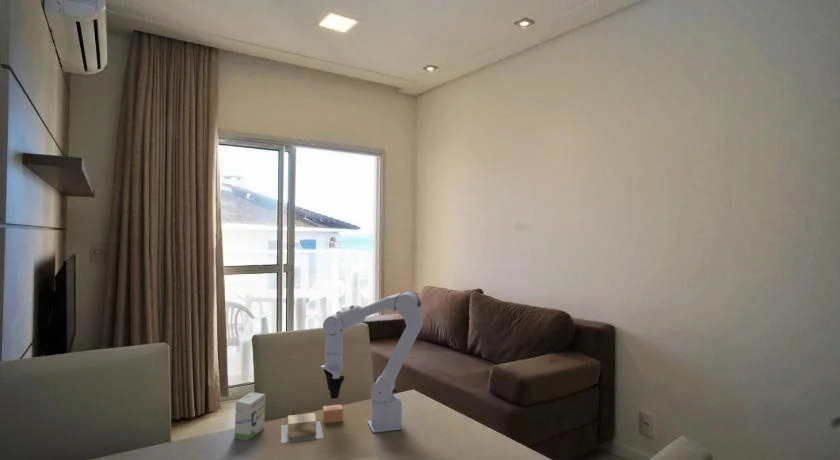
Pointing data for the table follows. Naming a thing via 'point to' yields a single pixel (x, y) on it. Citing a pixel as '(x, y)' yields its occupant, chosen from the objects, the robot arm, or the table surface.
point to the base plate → (300, 438)
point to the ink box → (249, 416)
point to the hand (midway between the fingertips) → (333, 393)
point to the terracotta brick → (332, 413)
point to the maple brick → (301, 425)
